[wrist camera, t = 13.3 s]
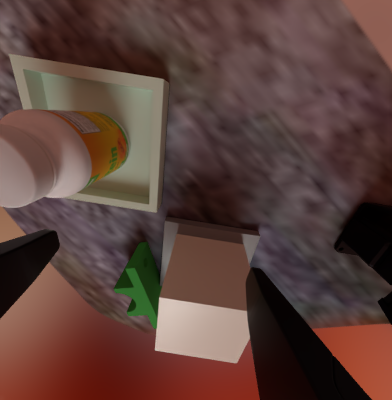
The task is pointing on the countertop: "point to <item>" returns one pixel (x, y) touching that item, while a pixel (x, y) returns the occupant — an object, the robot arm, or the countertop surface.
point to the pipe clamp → (141, 284)
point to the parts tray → (116, 108)
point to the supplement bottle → (56, 153)
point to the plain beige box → (204, 289)
